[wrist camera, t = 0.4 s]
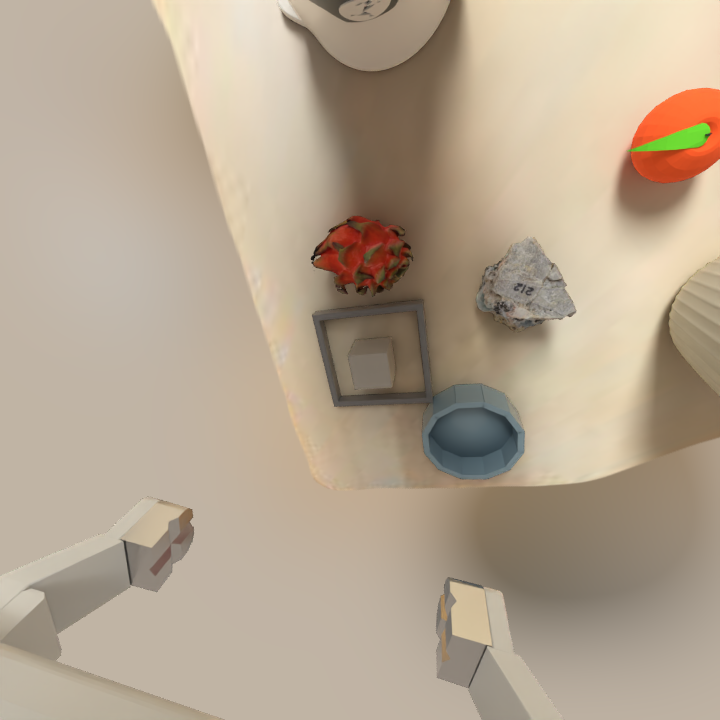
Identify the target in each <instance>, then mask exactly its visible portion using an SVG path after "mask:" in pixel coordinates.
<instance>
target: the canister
mask: <svg viewBox="0 0 720 720" xmlns="http://www.w3.org/2000/svg"><path fill="white" fill-rule="evenodd" d="M669 317H670V320H669V327H670V335H671V337H672V340H673V343H674V345H675V346H676V348H677V349H678V351H679V352H680V354H681V355H682V356H683V357H684V359H685V360H686V361H687V362H688V363H689V364H690V366H691V367H692V368H693V369H694V370H695V371H696V372H697V374H698V375H699V376H700V377H701V378H702V379H703V380H704V381H705V382H706V383H707V384H708V385H709V386H710V387H711V389H712V390H713V391H714V392H715V393H716V394H717V395H718V396H719V397H720V256H719V257H718V258H717V259H716V260H714V261H712V262H709V263H707V264H706V266H705V267H703V268H702V269H700V270H698V271H697V272H696V274H695V275H694V276H692V277H691V278H689V279H688V281H687V283H686V284H685V285H684V286H682V288H681V290H680V292H679V293H678V295H676V299H675V301H674V303H673V304H672V309H671V312H670V313H669Z"/></svg>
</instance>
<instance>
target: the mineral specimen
mask: <svg viewBox="0 0 720 720" xmlns="http://www.w3.org/2000/svg"><path fill="white" fill-rule="evenodd" d="M565 286H567V285H566V283H565V282H564V280H563V277H562V275H561V273H560V271H559V269H558V267H557V266H556V265H555V263H551V262H550V260H549V259H548V258H547V257H546V256H545V254H544V251H543V250H542V249H541V246H540V245H539V244H538V243H537V241H536V239H535V238H534V237H527V238H526V239H525V240H524V241H522V242H521V243H516V244H512V245H511V247H510V248H509V250H508V252H507V254H506V256H505V257H504V258H503V259H502V260H501V261H499V263H498V264H495V265H494V266H493V267H492V266H488V267H486V269H485V275H484V276H482V284H481V286H480V289H479V292H478V293H477V296H476V303H477V307H478V309H480V310H481V311H483V312H491V313H493V316H494V320H495V321H499V322H500V323H503V324H506V325H507V326H509V327H510V329H511V330H513V331H514V332H520V331H522V330H524V329H525V328H527V327H529V326H534V325H537V324H542V322H543V321H544V320H551V319H560V320H561V319H563V318H564V317H565V316H569V317H571V316H573V314H574V313H576V309H575V306H574V303H573V301H572V299H571V297H570V296H569V294H568V293H567V291H566V290H565V289H564V287H565Z"/></svg>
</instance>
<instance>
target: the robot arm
mask: <svg viewBox="0 0 720 720" xmlns="http://www.w3.org/2000/svg"><path fill="white" fill-rule="evenodd" d="M277 3H278V5H279V7H280V9H281V10H282V12H283V13H284V15H286V16H287V17H288V18H289V19H291V20H292V21H294V22H296V23H298V24H300V25H302V26H304V27H306V28H308V29H309V30H310V31H311V32H312V33H313V35H314V36H315V37H316V38H317V40H318V41H319V42H320V43H321V45H322V46H323V47H324V48H325V49H326V51H327V52H328V53H329V54H330V55H332V56H333V57H334V58H335V59H337V60H338V61H339V62H341V63H343V64H345V65H346V66H349V67H351V68H354V69H357V70H362V71H380V70H385V69H389V68H392V67H394V66H397V65H399V64H401V63H403V62H404V61H406V60H408V59H409V58H410V57H412V56H413V55H414V54H415V53H417V52H418V51H419V50H420V49H421V48H422V47H423V46H424V45H425V44H426V42H427V41H428V40H429V39H430V38H431V36H432V35H433V33H434V32H435V30H436V29H437V27H438V26H439V24H440V22H441V20H442V18H443V17H444V15H445V12H446V10H447V8H448V5H449V3H450V0H277ZM192 518H193V512H192V509H190V508H186V507H183V506H180V505H176V504H173V503H170V502H167V501H163V500H160V499H156V498H153V497H149V496H147V497H145V498H143V499H142V500H140V501H139V502H138V503H137V504H136V505H135V506H134V507H133V508H132V509H131V510H130V511H129V512H128V513H127V514H125V515H124V516H123V517H122V518H121V519H120V520H119V521H118V522H117V523H116V524H115V525H114V526H113V527H112V528H111V529H109V530H108V531H107V532H106V533H105V534H104V535H100V534H98V535H96V536H93V537H91V538H89V539H86V540H84V541H81V542H79V543H77V544H74V545H72V546H70V547H68V548H65V549H63V550H60V551H58V552H55V553H53V554H51V555H48V556H46V557H44V558H41V559H39V560H36V561H34V562H32V563H30V564H27V565H25V566H22V567H20V568H17V569H15V570H13V571H10V572H8V573H6V574H3V575H1V576H0V720H224V719H221V718H218V717H216V716H212V715H210V714H207V713H204V712H201V711H198V710H195V709H192V708H190V707H187V706H184V705H181V704H178V703H175V702H172V701H169V700H166V699H164V698H161V697H158V696H155V695H152V694H149V693H146V692H143V691H140V690H137V689H135V688H132V687H129V686H126V685H123V684H120V683H117V682H114V681H111V680H109V679H106V678H103V677H100V676H97V675H94V674H91V673H88V672H86V671H82V670H80V669H77V668H74V667H71V666H68V665H65V664H62V663H59V662H57V661H56V660H57V659H58V658H59V657H60V656H61V646H60V643H59V639H58V636H57V634H58V633H60V632H61V631H63V630H64V629H66V628H68V627H69V626H70V625H72V624H74V623H75V622H77V621H78V620H80V619H81V618H83V617H85V616H86V615H88V614H89V613H91V612H92V611H94V610H95V609H97V608H99V607H100V606H102V605H103V604H105V603H106V602H108V601H109V600H111V599H113V598H114V597H116V596H117V595H119V594H120V593H122V592H123V591H125V590H127V589H128V588H130V585H132V586H136V587H140V588H143V589H147V590H151V591H155V592H157V591H158V590H159V589H160V587H161V586H162V585H163V583H164V582H165V581H166V580H167V578H168V577H169V576H170V574H171V573H172V564H173V563H176V562H177V561H179V560H181V559H182V558H183V557H184V555H185V554H186V553H187V551H188V549H189V547H190V545H191V543H192V541H193V536H194V527H193V526H192V525H191V523H190V520H191V519H192ZM436 633H437V635H438V637H439V638H440V641H439V644H438V647H437V650H436V652H437V678H440V679H443V680H445V681H448V682H452V683H454V684H457V685H460V686H464V687H466V688H469V690H468V691H469V693H470V695H471V697H472V699H473V702H474V704H475V706H476V708H477V710H478V712H479V715H480V717H481V719H482V720H564V719H563V718H562V716H561V715H560V713H559V712H558V710H557V709H556V707H555V706H554V704H553V703H552V701H551V700H550V699H549V697H548V696H547V694H546V693H545V691H544V690H543V688H542V687H541V685H540V684H539V683H538V681H537V680H536V678H535V677H534V675H533V674H532V672H531V671H530V669H529V668H528V667H527V665H526V664H525V662H524V661H523V659H522V658H521V656H519V655H516V654H514V649H513V644H512V639H511V633H510V628H509V623H508V618H507V613H506V608H505V602H504V598H503V594H502V592H501V591H498V590H494V589H491V588H487V587H482V586H481V585H477V584H473V583H469V582H465V581H461V580H457V579H454V578H449V577H448V578H447V579H446V582H445V585H444V594H443V595H442V596H441V597H440V601H439V604H438V610H437V621H436Z"/></svg>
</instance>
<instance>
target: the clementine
mask: <svg viewBox="0 0 720 720" xmlns="http://www.w3.org/2000/svg"><path fill="white" fill-rule="evenodd" d="M628 151H631V159H632V162H633V165H634V167H635V169H636V170H637V171H638V173H639V174H640V175H641V176H643V177H645V178H647V179H649V180H651V181H655V182H660V183H671V182H678V181H682V180H685V179H689V178H692V177H694V176H696V175H698V174H700V173H701V172H703V171H705V170H706V169H708V168H709V167H710V166H712V165H713V164H714V163H715V162H717V161H718V160H719V159H720V90H717V89H711V88H699V89H692V90H686V91H684V92H681V93H678V94H676V95H674V96H672V97H670V98H668V99H667V100H665V101H664V102H662V103H661V104H659V105H658V106H656V107H655V108H654V109H653V110H652V111H651V112H650V113H649V114H648V115H647V116H646V117H645V118H644V120H643V121H642V123H641V124H640V125H639V127H638V129H637V131H636V133H635V136H634V138H633V142H632V147H631V150H628Z"/></svg>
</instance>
